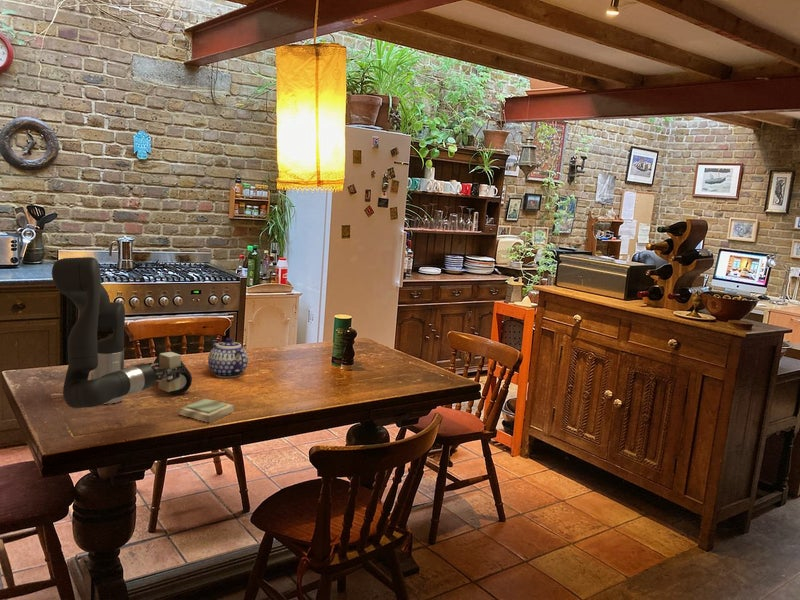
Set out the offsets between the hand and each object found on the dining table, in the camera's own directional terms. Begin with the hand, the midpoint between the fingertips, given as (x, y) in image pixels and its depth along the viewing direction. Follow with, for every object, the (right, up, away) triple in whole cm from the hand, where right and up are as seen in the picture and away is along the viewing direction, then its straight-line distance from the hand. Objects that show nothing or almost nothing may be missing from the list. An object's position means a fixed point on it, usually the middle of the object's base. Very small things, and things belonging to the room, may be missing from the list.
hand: (175, 366), depth 198 cm
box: (-2, -7, -1) cm, 7 cm away
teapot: (+1, -9, +55) cm, 56 cm away
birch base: (+6, -17, +11) cm, 21 cm away
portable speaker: (-14, -11, +37) cm, 41 cm away
